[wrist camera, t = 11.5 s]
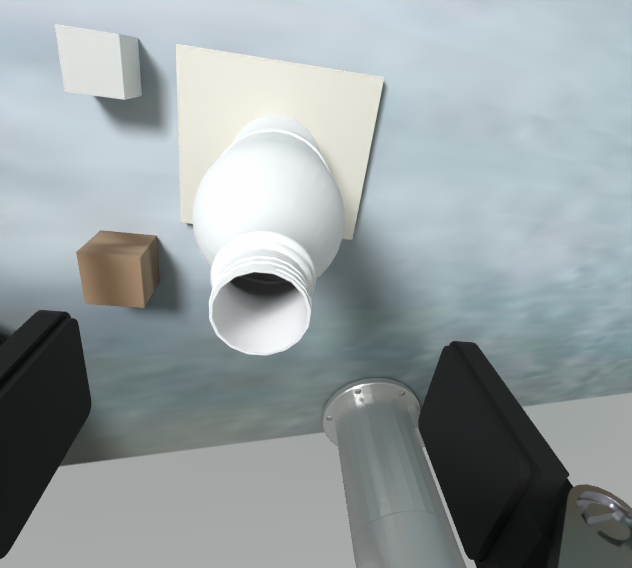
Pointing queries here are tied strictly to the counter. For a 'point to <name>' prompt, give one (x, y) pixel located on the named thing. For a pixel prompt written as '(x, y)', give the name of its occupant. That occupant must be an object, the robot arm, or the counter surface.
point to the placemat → (272, 99)
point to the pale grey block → (99, 62)
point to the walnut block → (119, 269)
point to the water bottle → (267, 233)
